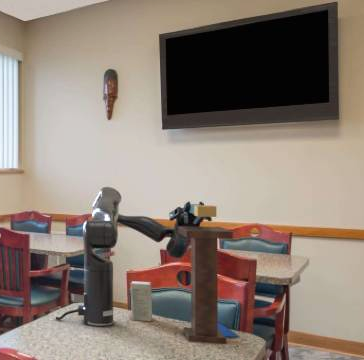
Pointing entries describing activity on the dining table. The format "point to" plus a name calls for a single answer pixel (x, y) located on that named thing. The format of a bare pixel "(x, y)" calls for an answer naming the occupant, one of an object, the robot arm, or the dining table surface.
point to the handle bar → (203, 210)
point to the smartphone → (226, 331)
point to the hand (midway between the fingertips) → (195, 204)
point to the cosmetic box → (141, 301)
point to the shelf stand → (204, 282)
